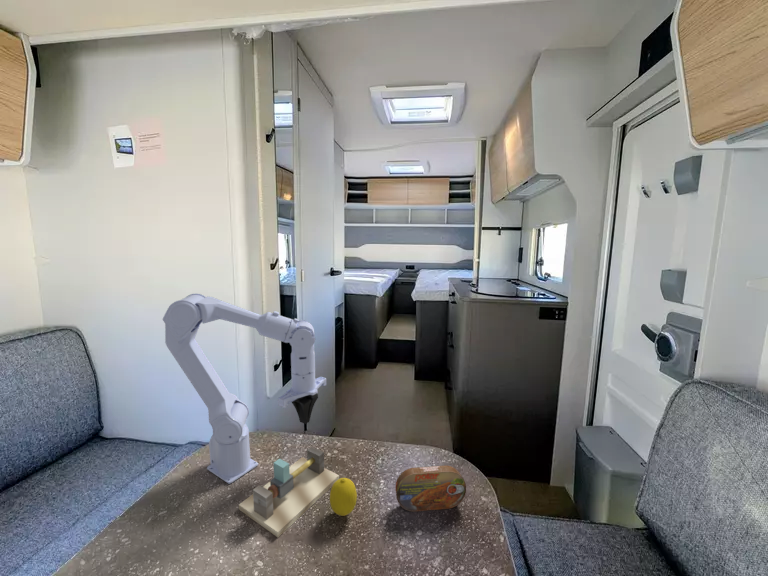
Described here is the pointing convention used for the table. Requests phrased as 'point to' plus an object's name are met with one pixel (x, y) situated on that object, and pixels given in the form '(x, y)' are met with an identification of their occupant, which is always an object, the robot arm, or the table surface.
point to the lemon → (343, 496)
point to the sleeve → (282, 478)
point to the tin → (430, 488)
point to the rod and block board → (290, 494)
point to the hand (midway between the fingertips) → (304, 421)
